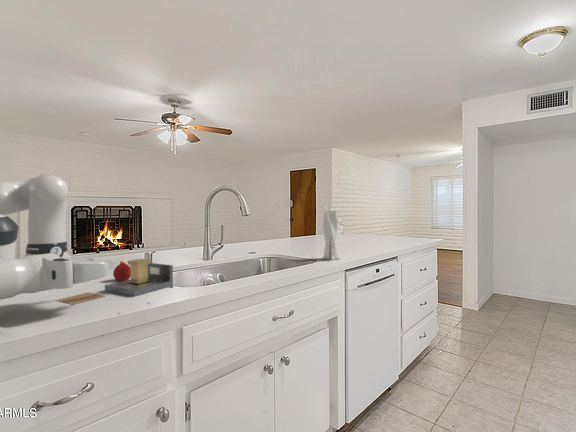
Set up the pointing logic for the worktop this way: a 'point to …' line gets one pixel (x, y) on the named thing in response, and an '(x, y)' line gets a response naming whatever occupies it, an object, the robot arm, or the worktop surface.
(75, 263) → the robot arm
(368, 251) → the worktop surface
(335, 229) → the skyscraper
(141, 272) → the tan wooden upright block
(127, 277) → the onion
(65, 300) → the brown square coaster
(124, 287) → the tray
